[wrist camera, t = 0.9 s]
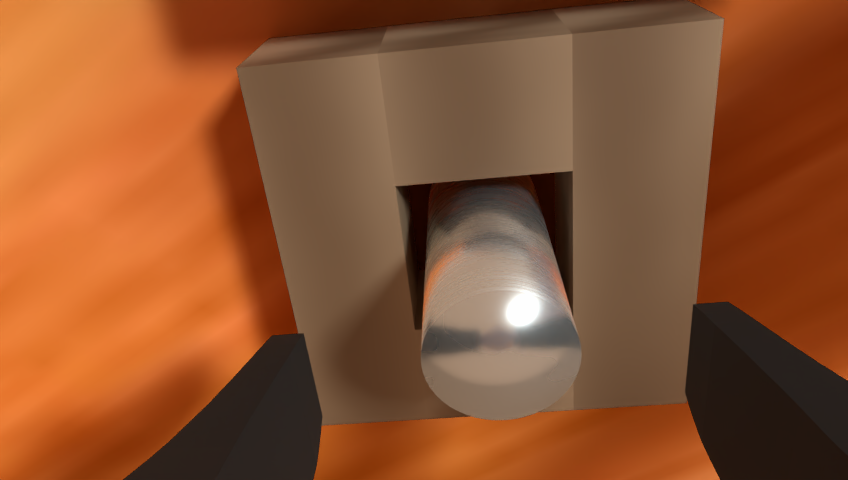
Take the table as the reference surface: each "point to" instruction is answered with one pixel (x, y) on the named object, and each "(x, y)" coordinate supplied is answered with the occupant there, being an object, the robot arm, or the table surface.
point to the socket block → (490, 158)
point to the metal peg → (494, 302)
